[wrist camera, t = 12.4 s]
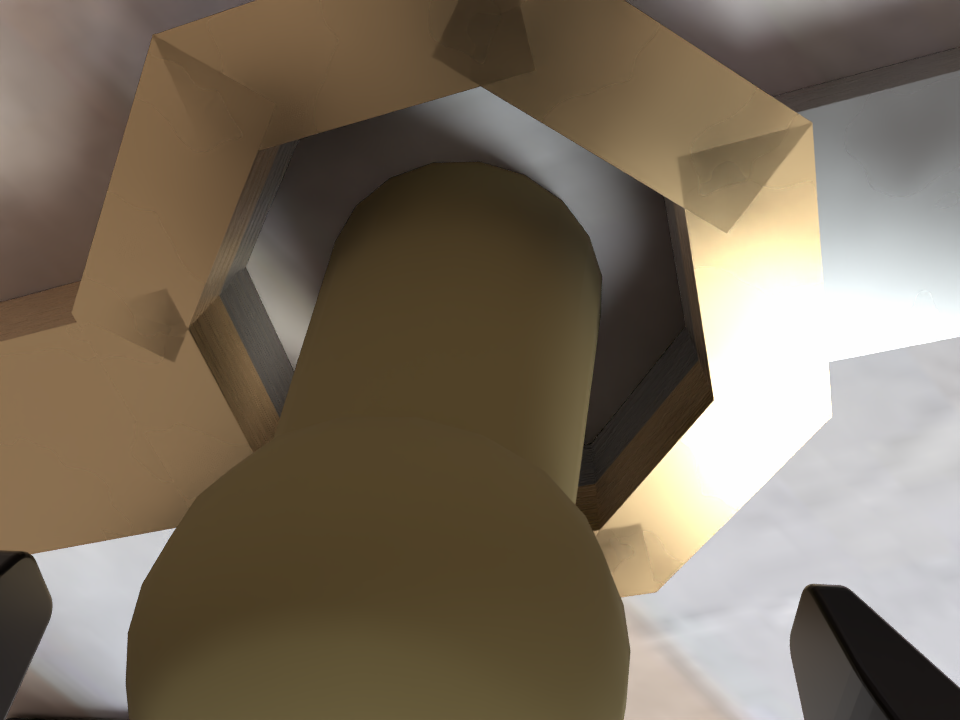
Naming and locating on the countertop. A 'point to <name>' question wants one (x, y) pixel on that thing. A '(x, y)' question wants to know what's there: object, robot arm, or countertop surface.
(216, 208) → the upper chain end
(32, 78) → the countertop surface
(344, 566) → the cork
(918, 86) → the lower chain end
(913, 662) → the robot arm
